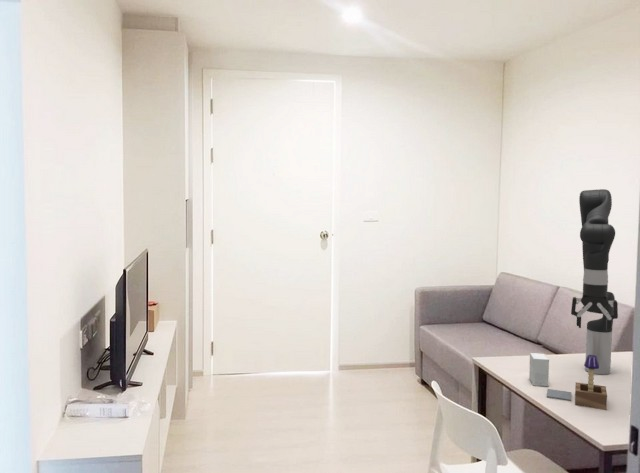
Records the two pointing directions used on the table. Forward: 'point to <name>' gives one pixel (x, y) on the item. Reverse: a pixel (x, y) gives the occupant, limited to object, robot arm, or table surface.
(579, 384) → the wooden cube shelf
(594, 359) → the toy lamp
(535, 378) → the small box
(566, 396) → the slate pad
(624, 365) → the table surface
